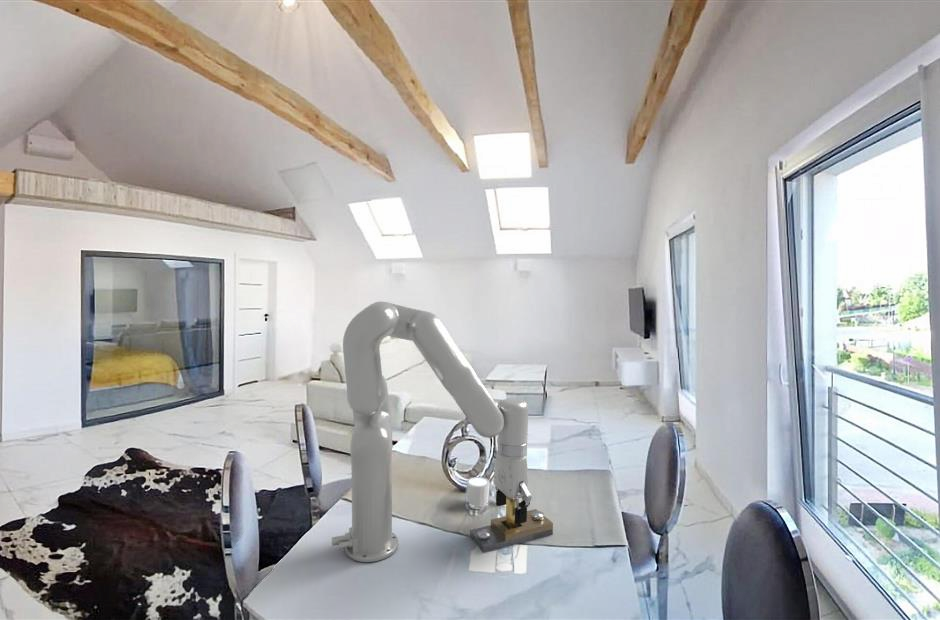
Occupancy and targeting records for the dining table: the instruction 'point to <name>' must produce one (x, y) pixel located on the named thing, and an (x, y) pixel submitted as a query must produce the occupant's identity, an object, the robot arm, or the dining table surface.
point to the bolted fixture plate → (511, 532)
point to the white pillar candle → (478, 491)
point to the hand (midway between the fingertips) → (510, 513)
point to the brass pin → (510, 513)
